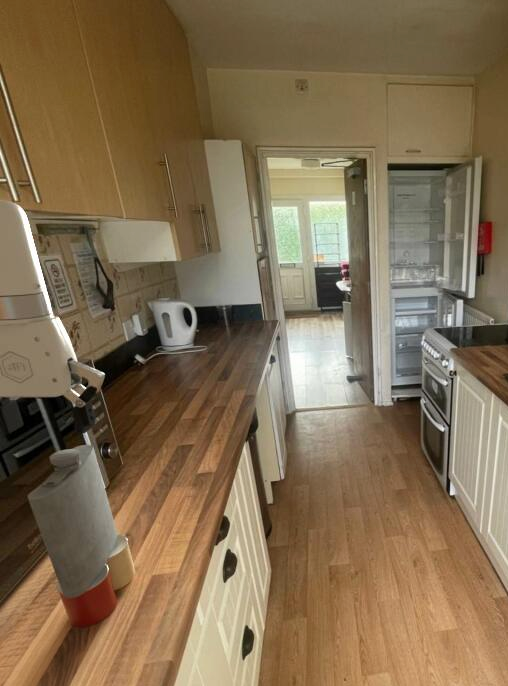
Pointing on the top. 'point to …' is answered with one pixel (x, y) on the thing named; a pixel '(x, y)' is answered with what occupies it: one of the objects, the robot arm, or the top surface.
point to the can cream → (120, 563)
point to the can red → (91, 602)
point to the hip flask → (75, 519)
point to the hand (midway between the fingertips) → (50, 429)
